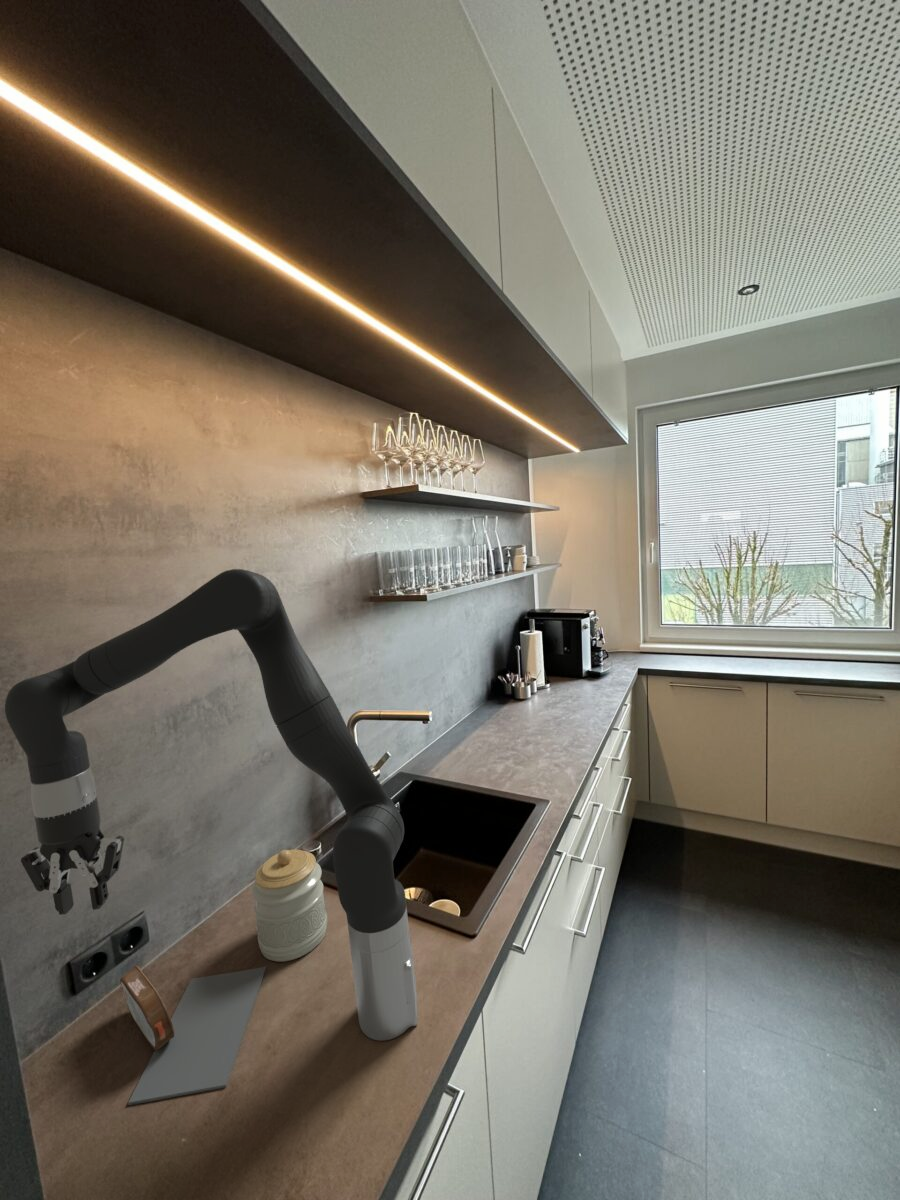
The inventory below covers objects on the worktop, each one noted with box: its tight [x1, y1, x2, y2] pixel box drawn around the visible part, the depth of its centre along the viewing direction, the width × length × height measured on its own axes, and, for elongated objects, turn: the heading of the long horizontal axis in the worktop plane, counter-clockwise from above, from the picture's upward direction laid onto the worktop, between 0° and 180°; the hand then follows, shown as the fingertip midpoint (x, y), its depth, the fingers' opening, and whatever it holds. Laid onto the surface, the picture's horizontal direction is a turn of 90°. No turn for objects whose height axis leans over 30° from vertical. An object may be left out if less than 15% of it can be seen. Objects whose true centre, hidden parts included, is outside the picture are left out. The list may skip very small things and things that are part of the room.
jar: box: [251, 849, 328, 962], centre depth 94 cm, size 13×13×18 cm
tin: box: [119, 965, 174, 1051], centre depth 77 cm, size 15×3×8 cm, turn 50°
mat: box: [127, 966, 267, 1106], centre depth 77 cm, size 13×20×1 cm, turn 6°
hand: (83, 907), depth 75 cm, fingers open, 4 cm apart
